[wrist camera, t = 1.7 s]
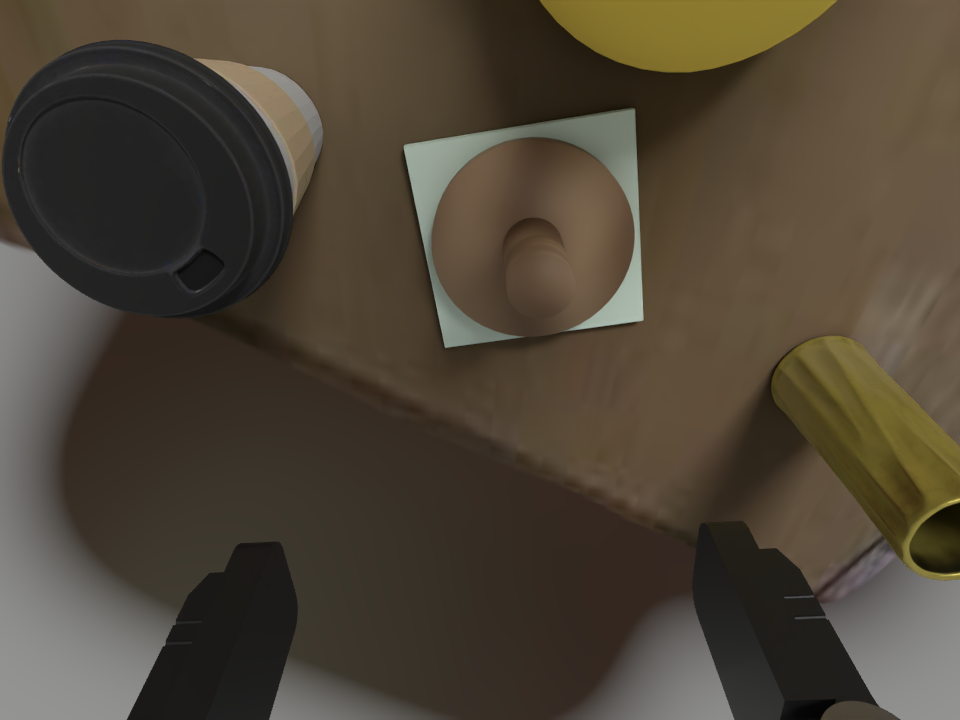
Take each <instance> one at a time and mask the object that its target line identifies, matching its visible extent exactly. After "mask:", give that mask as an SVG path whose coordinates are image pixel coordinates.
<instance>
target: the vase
mask: <svg viewBox="0 0 960 720" xmlns="http://www.w3.org/2000/svg"><path fill="white" fill-rule="evenodd" d="M771 391H772V396H773V399H774V402H775V403H776V405H777V406H778V407H779V408H780V409H781V410H782V411H783V412H785V413H786V415H787V416H788V417H789V418H790V420H791V421H792V422H793V423H794V425H795V426H796V427H797V428H798V430H799V431H800V432H801V434H802V435H803V436H804V437H805V438H806V440H807V441H808V442H809V443H810V444H811V445H812V446H813V448H814V449H815V450H816V451H817V452H818V453H819V454H820V455H821V457H822V458H823V459H824V460H825V462H826V463H827V464H828V465H829V466H830V468H831V469H832V470H833V471H834V473H835V474H836V475H837V476H838V477H839V479H840V480H841V481H842V483H843V484H844V485H845V487H846V488H847V489H848V490H849V492H850V493H851V494H852V495H853V497H854V498H855V499H856V500H857V502H858V503H859V504H860V506H861V507H862V508H863V510H864V511H865V512H866V514H867V515H868V517H869V518H870V519H871V521H872V522H873V523H874V524H875V526H876V527H877V528H878V530H879V531H880V532H881V534H882V535H883V536H884V538H885V539H886V540H887V542H888V543H889V544H890V546H891V547H892V548H893V550H894V551H895V553H896V555H897V556H898V557H899V559H900V560H901V561H902V562H903V563H904V564H905V565H906V566H907V567H908V568H909V569H910V570H912V571H913V572H915V573H917V574H919V575H921V576H923V577H926V578H929V579H934V580H944V581H947V580H959V579H960V447H959V446H958V445H957V444H956V443H955V442H954V441H953V440H952V439H951V438H950V437H949V436H948V435H947V434H946V433H945V432H944V431H943V430H942V429H941V428H940V427H939V426H938V425H937V424H936V423H935V422H934V421H933V420H932V419H931V418H930V417H929V416H928V415H927V414H926V412H925V411H924V410H923V409H922V408H921V407H920V406H919V405H918V404H917V403H916V402H915V401H914V400H913V399H912V398H911V397H910V396H909V395H908V394H907V393H906V392H905V391H904V390H903V389H902V388H901V387H900V386H899V385H898V384H897V383H896V382H895V381H894V380H893V379H892V378H891V377H890V376H889V375H888V374H887V373H886V372H885V371H884V370H883V369H882V368H881V367H880V366H879V365H878V363H877V362H876V361H875V360H874V359H873V358H872V357H871V356H870V355H869V354H868V353H867V351H866V350H865V348H864V347H863V346H862V345H861V344H859V343H858V342H856V341H854V340H852V339H849V338H846V337H842V336H823V337H818V338H814V339H811V340H809V341H806V342H804V343H802V344H800V345H799V346H797V347H796V348H794V349H793V350H792V351H790V352H789V353H788V354H787V355H786V356H785V357H784V358H783V360H782V361H781V362H780V363H779V365H778V366H777V368H776V370H775V372H774V375H773V377H772V382H771Z"/></svg>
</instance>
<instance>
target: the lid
mask: <svg viewBox="0 0 960 720" xmlns="http://www.w3.org/2000/svg"><path fill="white" fill-rule="evenodd" d="M634 241H635V229H634V220H633V215H632V212H631V208H630V205H629V202H628V200H627V197H626V195H625V193H624V191H623V190H622V188H621V186H620V185H619V183H618V181H617V180H616V179H615V177H614V176H613V175H612V174H611V172H610V171H609V170H608V169H607V168H606V166H604V165H603V164H602V163H601V162H600V161H599V160H598V159H597V158H596V157H594V156H593V155H591V154H590V153H588V152H587V151H585V150H584V149H582V148H580V147H577V146H575V145H573V144H571V143H568V142H565V141H562V140H557V139H552V138H545V137H527V138H518V139H513V140H509V141H505V142H502V143H500V144H497V145H494V146H492V147H490V148H488V149H486V150H484V151H483V152H481V153H479V154H478V155H476V156H475V157H474V158H472V159H471V160H469V161H468V162H467V163H466V164H465V165H464V166H463V167H462V168H461V169H460V170H459V171H458V172H457V173H456V175H455V176H454V177H453V178H452V180H451V181H450V182H449V184H448V186H447V187H446V189H445V191H444V192H443V195H442V197H441V199H440V202H439V204H438V207H437V211H436V214H435V218H434V223H433V229H432V245H431V249H432V256H433V263H434V266H435V270H436V273H437V276H438V278H439V280H440V283H441V285H442V287H443V288H444V290H445V292H446V293H447V295H448V296H449V298H450V299H451V300H452V301H453V303H454V304H455V305H456V306H457V307H458V308H459V309H460V310H461V311H462V312H463V313H464V314H465V315H467V316H468V317H469V318H471V319H472V320H473V321H475V322H477V323H479V324H480V325H482V326H484V327H486V328H489V329H491V330H493V331H496V332H500V333H503V334H507V335H513V336H520V337H537V336H546V335H551V334H556V333H559V332H562V331H565V330H568V329H571V328H573V327H575V326H577V325H579V324H581V323H583V322H584V321H586V320H588V319H589V318H591V317H592V316H593V315H595V314H596V313H597V312H598V311H600V310H601V309H602V308H603V307H604V306H605V305H606V304H607V303H608V302H609V301H610V300H611V298H612V297H613V296H614V294H615V293H616V292H617V290H618V289H619V287H620V286H621V284H622V282H623V281H624V278H625V276H626V274H627V272H628V269H629V266H630V263H631V260H632V256H633V250H634Z"/></svg>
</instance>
